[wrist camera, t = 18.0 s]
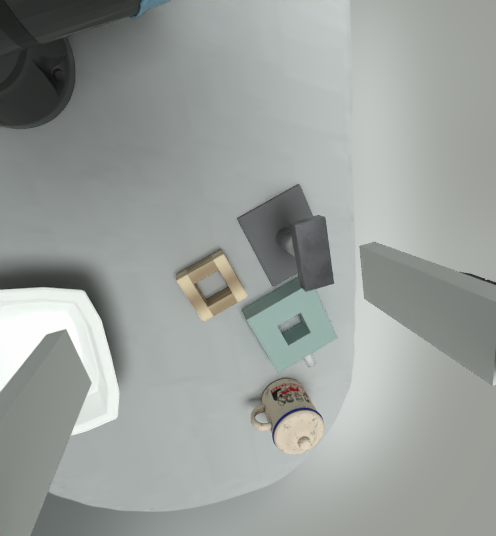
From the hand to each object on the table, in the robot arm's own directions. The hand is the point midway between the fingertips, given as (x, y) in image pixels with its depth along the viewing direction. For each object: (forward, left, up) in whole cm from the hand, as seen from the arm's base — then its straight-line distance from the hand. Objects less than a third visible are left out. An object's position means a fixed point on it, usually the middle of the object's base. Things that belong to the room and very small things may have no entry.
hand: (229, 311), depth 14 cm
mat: (+11, +11, -35) cm, 38 cm away
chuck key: (+11, +11, -34) cm, 37 cm away
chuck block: (+26, +5, -35) cm, 43 cm away
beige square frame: (+11, -3, -35) cm, 37 cm away
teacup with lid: (+38, -4, -35) cm, 52 cm away
